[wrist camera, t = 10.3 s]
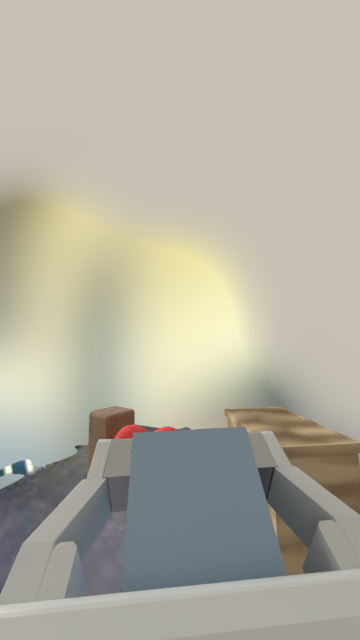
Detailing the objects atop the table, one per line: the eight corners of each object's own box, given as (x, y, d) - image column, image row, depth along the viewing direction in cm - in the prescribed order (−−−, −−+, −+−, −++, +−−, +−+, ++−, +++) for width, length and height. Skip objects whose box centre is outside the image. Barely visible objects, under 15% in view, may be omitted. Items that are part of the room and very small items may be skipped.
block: (85, 483, 69) (88, 411, 72) (114, 470, 77) (115, 405, 80) (106, 495, 63) (108, 415, 66) (135, 479, 71) (135, 408, 74)
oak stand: (396, 731, 23) (361, 442, 27) (290, 747, 22) (269, 447, 26) (292, 564, 41) (279, 407, 45) (232, 569, 40) (224, 409, 44)
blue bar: (293, 596, 6) (245, 426, 9) (118, 616, 5) (133, 433, 8) (199, 599, 22) (194, 541, 25) (156, 603, 22) (156, 545, 25)
